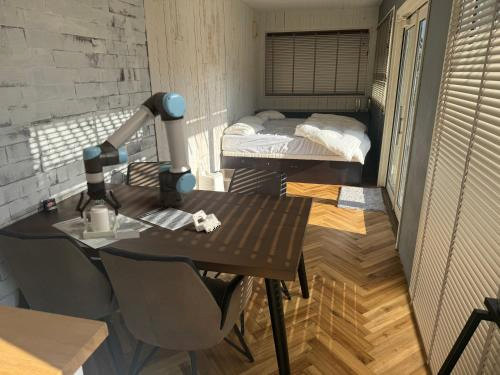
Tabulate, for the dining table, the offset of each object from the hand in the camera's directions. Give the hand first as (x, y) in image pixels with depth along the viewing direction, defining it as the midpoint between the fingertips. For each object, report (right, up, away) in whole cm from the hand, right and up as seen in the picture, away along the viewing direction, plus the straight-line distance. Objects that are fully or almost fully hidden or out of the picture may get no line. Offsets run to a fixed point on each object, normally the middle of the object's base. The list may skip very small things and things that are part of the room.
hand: (100, 223), depth 166 cm
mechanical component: (-11, +2, +21) cm, 23 cm away
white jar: (0, -4, +1) cm, 4 cm away
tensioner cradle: (+14, -5, +1) cm, 14 cm away
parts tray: (0, -4, +1) cm, 5 cm away
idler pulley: (-9, -2, +9) cm, 13 cm away
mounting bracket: (+50, -3, +7) cm, 51 cm away
